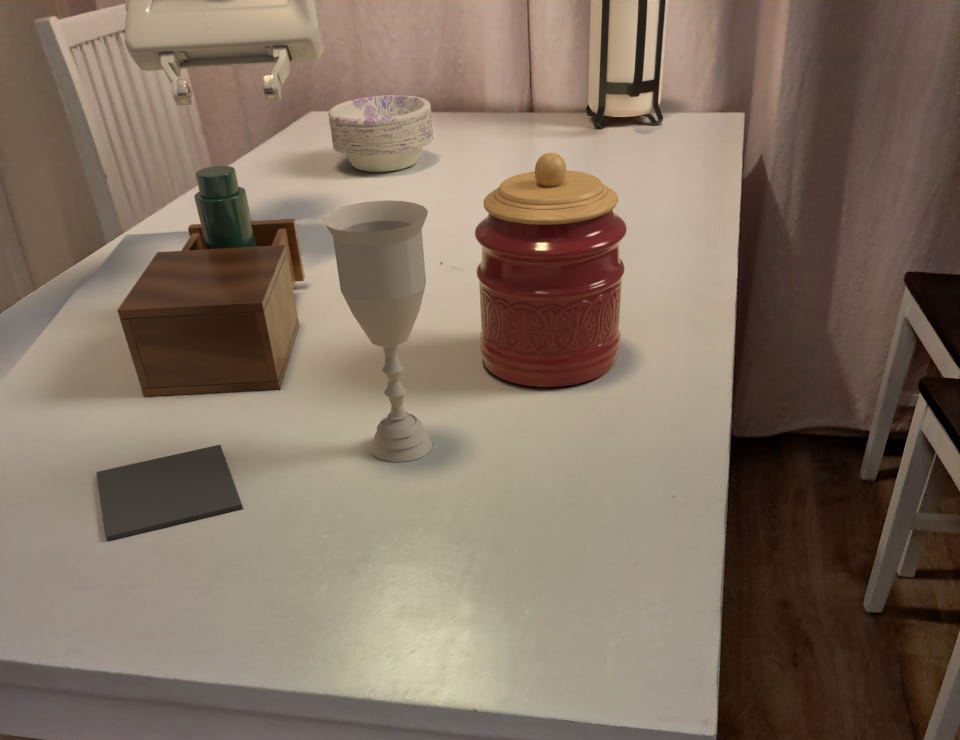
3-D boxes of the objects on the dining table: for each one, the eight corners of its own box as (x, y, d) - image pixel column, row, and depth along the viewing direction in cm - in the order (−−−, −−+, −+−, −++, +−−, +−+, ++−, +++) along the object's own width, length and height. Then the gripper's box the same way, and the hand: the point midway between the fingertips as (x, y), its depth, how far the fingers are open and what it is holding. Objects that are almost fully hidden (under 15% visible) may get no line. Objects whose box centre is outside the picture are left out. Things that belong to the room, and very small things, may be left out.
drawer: (210, 270, 106) (197, 213, 102) (309, 265, 106) (299, 207, 102) (177, 332, 93) (160, 269, 89) (289, 326, 93) (277, 262, 89)
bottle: (208, 296, 97) (178, 173, 89) (245, 281, 100) (220, 161, 92) (237, 307, 95) (209, 181, 87) (275, 291, 97) (251, 168, 90)
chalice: (439, 421, 79) (421, 196, 67) (451, 461, 74) (434, 225, 62) (354, 431, 78) (320, 206, 66) (360, 472, 73) (325, 236, 61)
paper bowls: (337, 183, 134) (329, 121, 129) (333, 156, 145) (326, 99, 140) (441, 173, 135) (437, 112, 130) (429, 147, 147) (425, 90, 141)
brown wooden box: (178, 331, 96) (157, 251, 90) (299, 325, 96) (285, 244, 90) (143, 396, 85) (116, 310, 79) (280, 389, 85) (262, 302, 79)
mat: (97, 475, 74) (96, 471, 74) (221, 448, 77) (220, 444, 77) (107, 541, 67) (105, 536, 67) (243, 508, 70) (241, 504, 69)
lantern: (556, 123, 155) (558, -107, 135) (618, 104, 162) (629, -115, 143) (635, 139, 145) (650, -106, 125) (698, 118, 153) (722, -115, 133)
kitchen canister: (626, 334, 90) (638, 133, 78) (610, 395, 81) (621, 177, 69) (496, 328, 93) (490, 132, 81) (466, 386, 83) (453, 175, 72)
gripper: (112, -46, 94) (115, 84, 93) (312, -58, 93) (318, 73, 93) (136, 1, 100) (139, 123, 99) (324, -10, 100) (329, 113, 99)
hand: (227, 99), depth 96 cm, fingers open, 8 cm apart
